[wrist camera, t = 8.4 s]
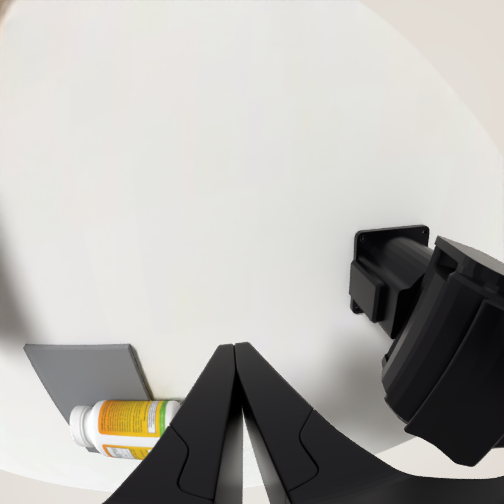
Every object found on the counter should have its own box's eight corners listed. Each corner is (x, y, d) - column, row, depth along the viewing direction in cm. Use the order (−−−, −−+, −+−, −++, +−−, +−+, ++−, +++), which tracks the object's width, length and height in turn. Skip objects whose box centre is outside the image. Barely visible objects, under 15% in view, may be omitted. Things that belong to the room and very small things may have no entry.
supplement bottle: (181, 393, 24) (86, 392, 24) (169, 411, 19) (59, 405, 18) (191, 445, 23) (97, 441, 23) (182, 471, 18) (74, 461, 17)
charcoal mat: (129, 343, 22) (127, 348, 21) (176, 453, 27) (175, 457, 27) (26, 344, 21) (23, 347, 20) (90, 448, 26) (88, 451, 26)
